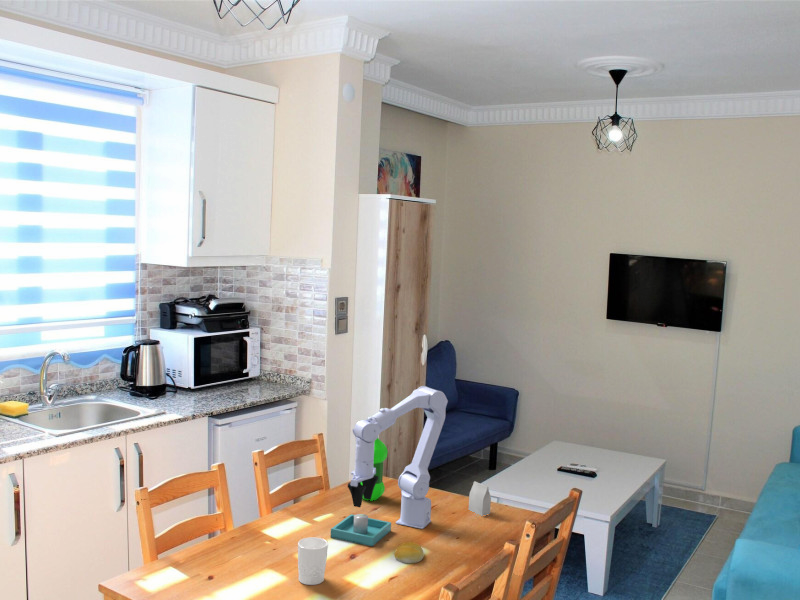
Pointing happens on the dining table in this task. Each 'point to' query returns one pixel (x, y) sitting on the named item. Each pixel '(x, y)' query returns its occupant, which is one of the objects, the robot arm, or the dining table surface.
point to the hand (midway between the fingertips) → (362, 502)
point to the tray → (375, 534)
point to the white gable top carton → (479, 499)
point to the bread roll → (409, 552)
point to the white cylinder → (360, 524)
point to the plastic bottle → (378, 468)
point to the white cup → (312, 560)
